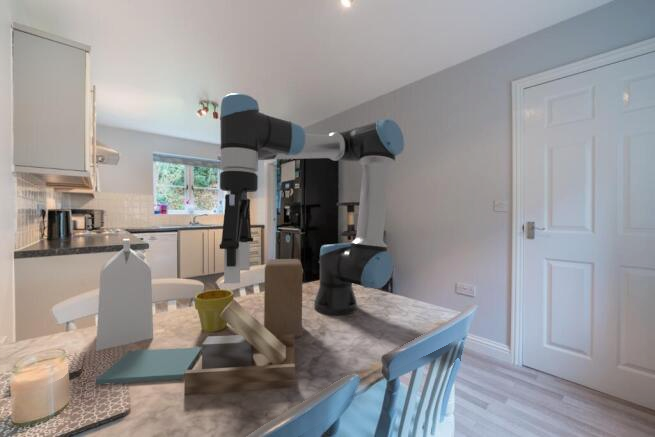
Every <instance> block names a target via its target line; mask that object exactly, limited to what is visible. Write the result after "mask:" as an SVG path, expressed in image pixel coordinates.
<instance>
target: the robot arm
mask: <svg viewBox="0 0 655 437" xmlns="http://www.w3.org/2000/svg"><path fill="white" fill-rule="evenodd" d="M219 115H220V116H219V120H220V155H217V160H218V161H220V162H219V163H220V169H221V170H222V171H221V172H220V174H219V188H220V190H222V191H224V192H230V193H229V194H227V193H226V194H225V195H224V214H223V224H222V225H223V226H222V233H221V234H222V235H221V242H220V244H219V249H220V250H224V251H223V252H224V254H223V255H224V260H223V262H224V263H223V264H224V265H223V266H224V270H223V272H224V274H223V275H224V277H223V283H224V284H226V285H227V284H240V283H241V271H250V269H251V268H250V267H251V266H250V265H251V264H250V262H251V260H250V258H251V256H250V255H251V254H250V253H251V252H250V251H251V242H252V243H253V242H254V237H252V228H251V227H252V226H251V199H250V198H248V194H247V193H255V192H257V191H258V178H259V176H258V174H256V173H257V172H258V171H259V161H267V160H270V161H271V160H294V159H296V160H303V159H330V160H332V161H335V162H336V161H338V162H339V161H343V162H347V161H348V162H359V163H360V164H361V165H362V168H363V169H362V177H361V184H360V185H361V186H360V197H359V205H358V206H359V208H358V214H357V215H358V218H357V226H356V236H355V238H354V239H353V240H352V241H351V242H349V243H348V242H346V243H345V242H343V243H333V244H332V243H331V244H323V245H321V247H320V250H319V251H320V252H319V287H318V288H317V293H316V296H315V299H314V310H315V311H317V312H318V313H322V314H324V315H330V316H344V315H349V314H352V313H354V312H355V311H357V307H358V306H357V305H358V304H357V299H356V295H355V292H354V289H353V285H357V286H362V287H363V288H366V289H368V288H369V289H373V290H374V289H375V290H376V289H381V288H383V287H384V286H385V285H386V284H387V283H388V281H389V280H390V278H391V276H392V274H393V271H394V259H393V256H392V255H391V254H390V253H389V252H388V251H387V250H388V245H387V244H386V243H385V242H384V233H385V232H384V230H385V220H386V210H387V208H386V207H387V201H388V200H387V199H388V189H389V188H388V186H389V176H390V168H392V167H393V166H394V165H395V163H396V156H399V155H401V153H402V152H403V151H404V148H405V139H404V135H403V131H402V129H401V127H400V125H399V124H398V123H397V122H396V121H395V120H393V119H390V118H387V119H382V120H380V119H379V120H377V121H375V122H372V123H367V124H366V125H362V126H359V127H355V128H352V129H348V130H345V131H340V132H337V131H335V132H331V133H329V134H318V133H317V134H315V133H311V134H310V133H306V132H305V129H304V128H303V127H302V126H301V125H299V124H296V123H294V122H292V121H289V120H285V119H281V118H277V117H274V116H270V115H266V114H265V113H263V112H260V106H259V102H258V101H257V99H256V98H254V97H252V96H250V95H248V94H245V93H244V94H243V93H230V94H229V93H228V94H227V95H225V96H224V97H223V98H222V100H221V104H220V114H219Z"/></svg>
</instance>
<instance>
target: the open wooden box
mask: <svg viewBox="0 0 655 437" xmlns="http://www.w3.org/2000/svg"><path fill="white" fill-rule="evenodd" d="M274 336H275V337H276V338H277V339H278V340H279V341H280V342H282V343H283V344H284V345H285V346H286V358H285V359H284V360H283V361H282V363H281V364H280V365H274V364H273V363H271V362H270V361H269V360H268V359H267V358H266V357H265V356H264V355H262V354H261V353H260V352H259V351H258V350H257V349H256V348H255V347H254V346H252V345H251V344H250V343H249V342H248V341H247V340H246V339H245V338H243V337H242V336H241V335H240V334H238V335H237V334H235V335H234V334H233V335H212V336H209V335H208V336H207V337H206V338H205V339H204V341H203V342H202V344H201V347H202V352H201V359H200V361H199V363H198V364H197V366H196V368H195V369H190V370H186V372H185V375H184V379H183V380H184V383H183V386H184V390H183V391H184V392H183V393H184V394H183V395H184V396H188V395H189V396H190V395H202V394H203V395H204V394H205V395H206V394H217V393H218V394H219V393H231V392H232V393H233V392H234V393H235V392H243V391H258V390H259V391H260V390H274V389H275V390H277V389H287V388H295V387H296V386H295V385H296V383H295V382H296V379H295V378H296V364H295V338H294V334H290V335H274Z"/></svg>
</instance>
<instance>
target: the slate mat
mask: <svg viewBox="0 0 655 437" xmlns="http://www.w3.org/2000/svg"><path fill="white" fill-rule="evenodd" d="M200 355H202V346H201V347H198V346H197V347H182V348H181V347H179V348H178V347H176V348H158V349H137V350H136V349H135V350H128V352H127V353H125V354H124V355H123V356H122V357H121V358H119V359H118V360H116V362H115V363H113V364H112V365H111V366H110V367H109V368H107V369H106V370H105V371H103V373H102V374H100V375H99V376H97V377H96V378H95V385H94V386H96V384H100V385H106V384H105V383H115V384H127V383H128V384H129V383H143V382H144V383H146V382H157V381H158V382H160V381H172V380H174V381H176V380H184V375H185V372H186V370H192V368H193V366H194V364H195V362H197V360H198V358H199V357H200Z"/></svg>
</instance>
